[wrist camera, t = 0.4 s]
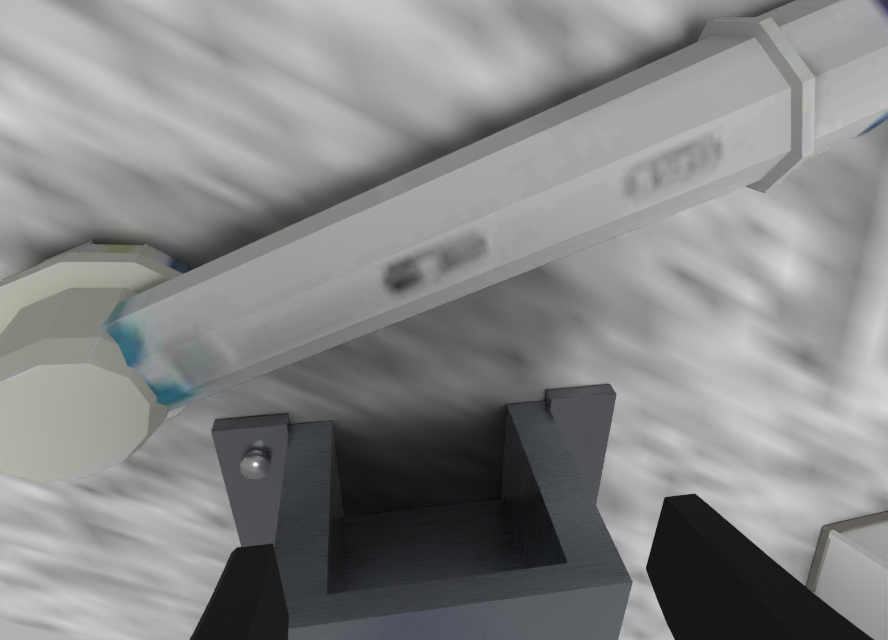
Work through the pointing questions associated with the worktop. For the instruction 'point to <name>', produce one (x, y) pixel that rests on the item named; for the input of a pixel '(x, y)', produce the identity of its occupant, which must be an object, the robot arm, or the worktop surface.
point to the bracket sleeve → (438, 534)
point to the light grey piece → (425, 233)
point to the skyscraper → (855, 572)
